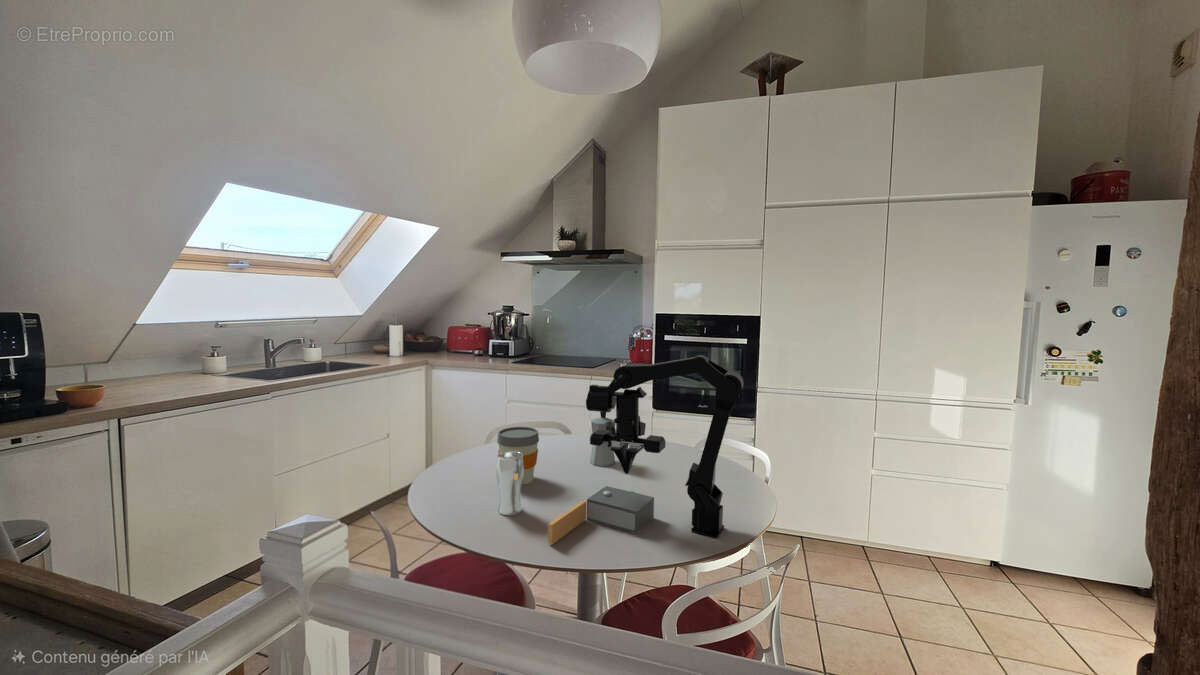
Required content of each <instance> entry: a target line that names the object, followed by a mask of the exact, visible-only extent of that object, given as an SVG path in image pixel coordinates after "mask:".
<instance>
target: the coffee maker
mask: <svg viewBox="0 0 1200 675" xmlns="http://www.w3.org/2000/svg"><path fill="white" fill-rule="evenodd" d="M599 413H600V417H596V418H593V419H590V423H591V432H592V433H594V432H596V431H597V430H599V429H601V430H610V431H611V432H612V435H615V434H616V423H614V419H612V418H609V417H607V416H606V415H607V412H599ZM592 433H591V434H592ZM611 447H612V442H605V441H604V443H603V444H602V445H601V446H598V445H592V447H591V453H590V459H589V463H590V464H591V465H593V466H594V467H602V468H604V467H611V466H613V465H614V464H615V463H616V458H615V457H616V456H615V453H614V451H612V450H610V448H611Z"/></svg>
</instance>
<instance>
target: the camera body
mask: <svg viewBox="0 0 1200 675" xmlns="http://www.w3.org/2000/svg"><path fill="white" fill-rule="evenodd" d="M654 508H655V497H654V496H651V495H647V494H642V493H637V492H635V491H629V490H624V489H620V488H616V487H613V486H608V485H606V486H604V487H602V488H601V489H600V490H597V492H595V493H594V494H592V495H591V496H589V497H588V498H587V499H586V520H587V521H590V522H592V523H597V524H600V525H604V526H607V527H610V528H615V529H618V530H620V531H621V530H622V531H625V532H629V533H632V534H636V535H637V534H639V532H640V531H642V529H644V528H645V527H647V525H648V524H649V523H650V522H651V521H652V520H653V519H654V516H655V514H654V511H655V509H654Z"/></svg>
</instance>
